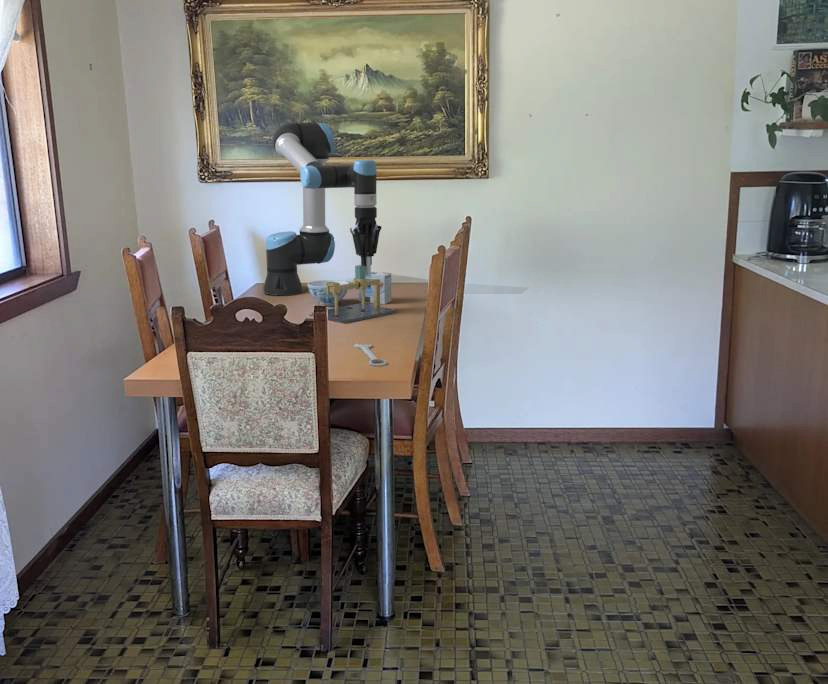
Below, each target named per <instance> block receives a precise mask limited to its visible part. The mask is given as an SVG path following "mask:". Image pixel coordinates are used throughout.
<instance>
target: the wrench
mask: <svg viewBox="0 0 828 684" xmlns="http://www.w3.org/2000/svg"><path fill="white" fill-rule="evenodd" d="M371 347H372V348H373V344H360V343H356V344H354V345H353V348H354V349H356V348H358V349H357V350H362V352H364V354H365V355H366V356H367V357H368V358H369V359H370V360H369V361H368V365H369V366H371V367H385V366H387V364H388V362H387V360H385V359H382V358H378V357H377V356H376V355H375V354H374V353H373V352H372V351H371V349H372V348H371Z"/></svg>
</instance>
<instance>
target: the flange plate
mask: <svg viewBox="0 0 828 684" xmlns="http://www.w3.org/2000/svg"><path fill="white" fill-rule="evenodd" d="M327 310H328V321H332V322H336V323H341V324H348V323H349V324H350V323H353V322H358V321H363V320H369V319H373V317H374V318H377V316H379V317H382V315H383V316H387V314H388V315H393V314H396V312H397V309H392V308H388V307H384V306H383V307H382V306H380V307H374V304H369V303H365V310H363V309H362V302H359V303H355V304H349V305H344V306H338V316H335V307H334V308H328V309H327ZM313 312H314V311H313ZM313 312H311V313H312V315H313ZM392 313H393V314H392ZM368 318H369V319H368Z"/></svg>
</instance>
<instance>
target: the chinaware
mask: <svg viewBox="0 0 828 684" xmlns="http://www.w3.org/2000/svg"><path fill="white" fill-rule="evenodd" d="M326 282H337V283H340V285H343V284H349V281H345V280H341V279H340V280H338V279H322V280H314V281H309V282H308V283H307V289H308V292H309V294H310V295H311V296H312V298H313V299H314V300H316V301H317V302H318V303H319V304H320V303H323V304H321V305H320V306H322V305H326V306H325V307H332V306H334V307H335V295H333V294H327V285H326ZM348 291H349V289H347V290H341V291H340V295H338V303H339V302H340V301H341V300H343V298H344V297H346V294H347V292H348Z"/></svg>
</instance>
